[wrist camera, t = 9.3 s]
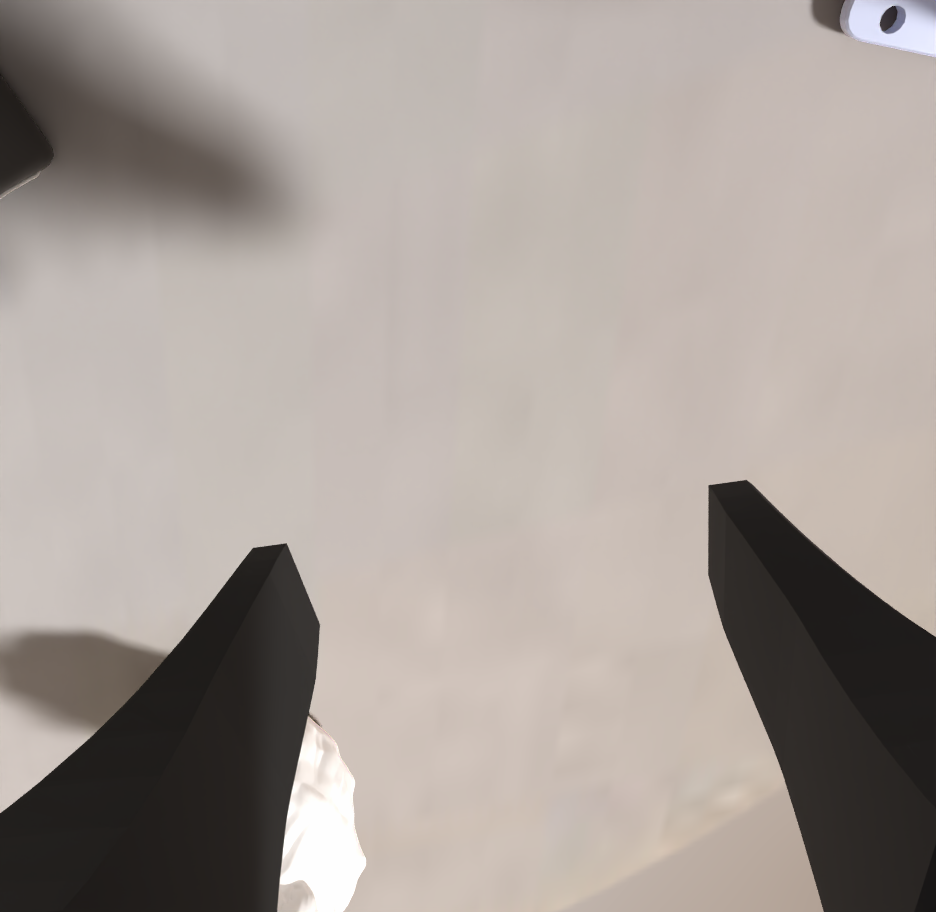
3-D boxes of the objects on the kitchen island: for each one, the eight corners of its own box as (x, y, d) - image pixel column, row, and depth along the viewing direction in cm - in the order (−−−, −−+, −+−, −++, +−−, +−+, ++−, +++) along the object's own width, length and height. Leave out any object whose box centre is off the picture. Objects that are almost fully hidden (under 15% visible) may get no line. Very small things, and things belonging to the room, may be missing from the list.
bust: (374, 751, 36) (509, 913, 27) (257, 894, 34) (357, 1123, 25) (175, 599, 31) (258, 737, 21) (23, 761, 29) (37, 992, 19)
